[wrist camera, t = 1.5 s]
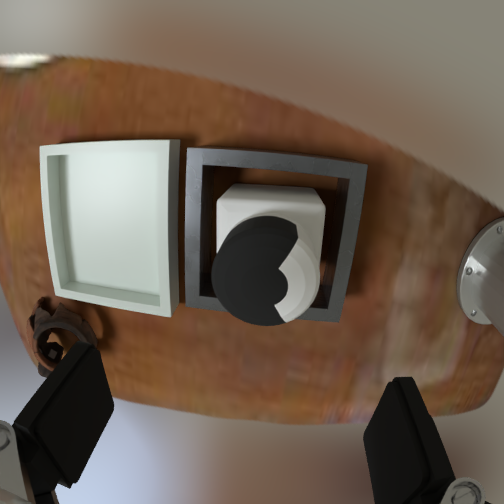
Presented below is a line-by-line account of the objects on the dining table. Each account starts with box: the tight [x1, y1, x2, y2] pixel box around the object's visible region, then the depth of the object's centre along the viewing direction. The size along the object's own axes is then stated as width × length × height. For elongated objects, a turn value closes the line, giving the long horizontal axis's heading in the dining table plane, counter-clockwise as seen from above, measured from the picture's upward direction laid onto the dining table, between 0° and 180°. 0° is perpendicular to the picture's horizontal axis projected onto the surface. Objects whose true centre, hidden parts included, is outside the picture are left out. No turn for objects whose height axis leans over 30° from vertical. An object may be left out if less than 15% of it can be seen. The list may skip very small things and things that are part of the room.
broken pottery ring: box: [27, 297, 98, 378], centre depth 33 cm, size 12×10×8 cm
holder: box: [185, 146, 368, 322], centre depth 26 cm, size 13×13×4 cm
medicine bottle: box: [211, 183, 326, 326], centre depth 22 cm, size 7×7×12 cm
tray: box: [40, 139, 180, 317], centre depth 28 cm, size 14×16×3 cm
